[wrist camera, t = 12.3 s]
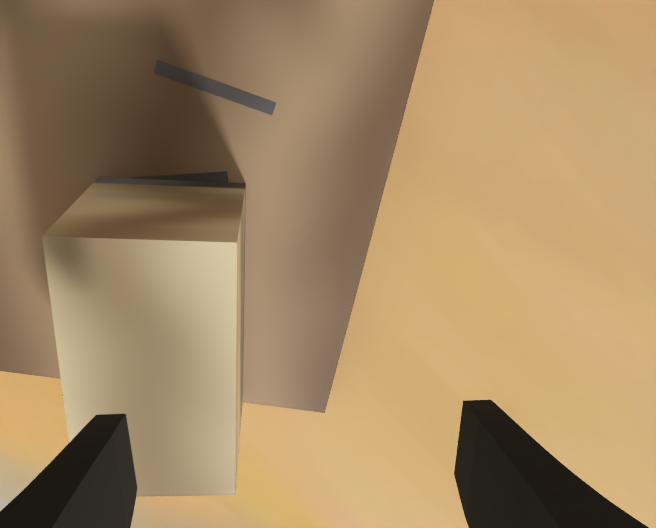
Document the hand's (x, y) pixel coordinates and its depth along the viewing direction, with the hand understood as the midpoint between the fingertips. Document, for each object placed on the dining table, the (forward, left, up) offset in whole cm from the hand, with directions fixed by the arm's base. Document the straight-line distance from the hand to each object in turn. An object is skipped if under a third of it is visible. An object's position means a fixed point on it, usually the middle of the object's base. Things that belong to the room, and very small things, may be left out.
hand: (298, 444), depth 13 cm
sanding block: (+4, +1, -8) cm, 9 cm away
